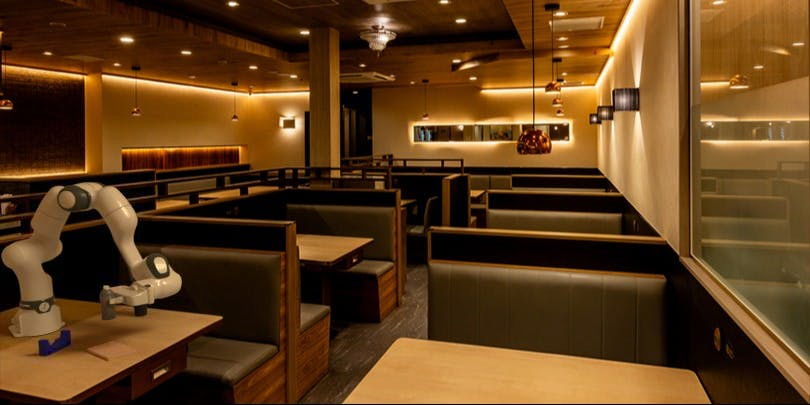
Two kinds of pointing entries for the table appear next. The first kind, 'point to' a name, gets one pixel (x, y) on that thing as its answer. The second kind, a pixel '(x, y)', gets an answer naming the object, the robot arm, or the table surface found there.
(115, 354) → the board
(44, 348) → the blue u-shaped bracket
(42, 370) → the table surface
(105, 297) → the charger plug
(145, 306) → the drinking cup
